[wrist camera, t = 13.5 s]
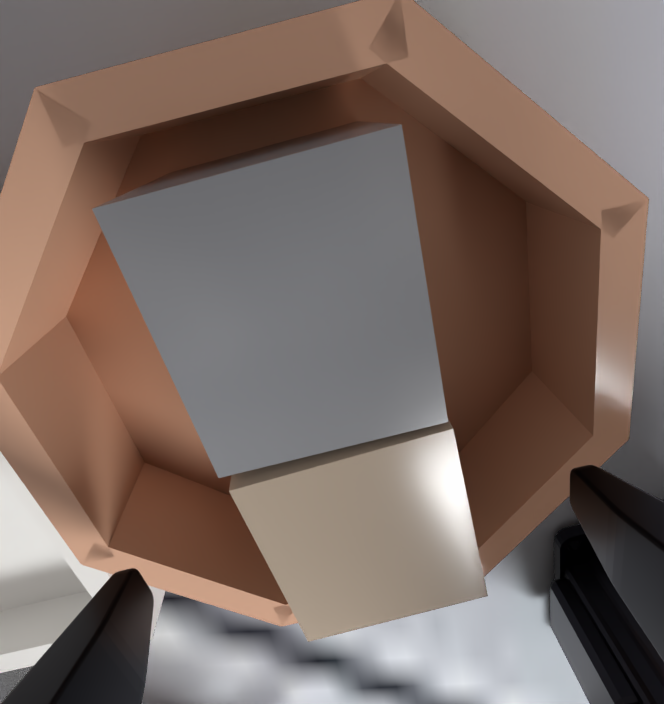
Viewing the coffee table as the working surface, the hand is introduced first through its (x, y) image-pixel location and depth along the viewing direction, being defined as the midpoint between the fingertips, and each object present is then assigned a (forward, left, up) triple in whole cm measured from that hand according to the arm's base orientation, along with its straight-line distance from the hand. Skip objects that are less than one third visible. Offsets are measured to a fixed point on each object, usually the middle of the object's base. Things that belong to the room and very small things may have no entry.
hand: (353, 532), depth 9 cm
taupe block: (0, 0, -4) cm, 4 cm away
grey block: (0, -5, -4) cm, 6 cm away
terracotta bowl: (0, -2, -4) cm, 5 cm away
